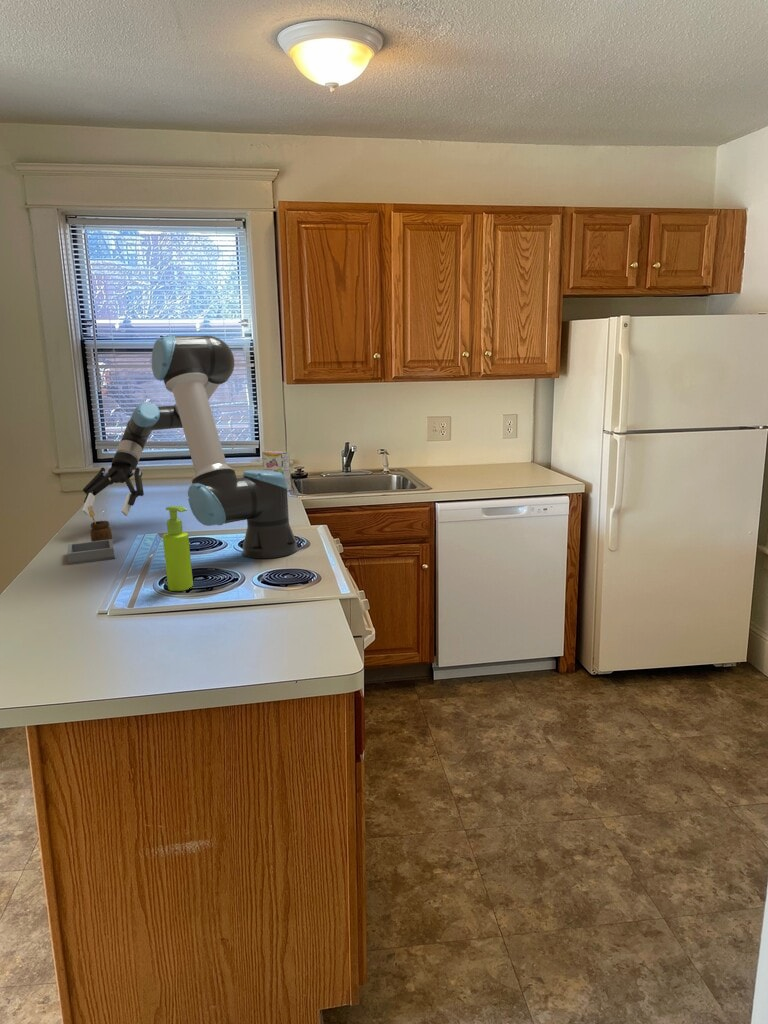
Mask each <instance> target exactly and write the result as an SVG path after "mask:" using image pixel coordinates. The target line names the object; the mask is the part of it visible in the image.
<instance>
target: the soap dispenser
mask: <svg viewBox="0 0 768 1024" xmlns="http://www.w3.org/2000/svg"><path fill="white" fill-rule="evenodd" d="M165 510H166V511H169V519H168V520H166V528H167V533H166V534H163V535H162V542H163V544H162V545H163V553H164V561H165V573H166V581H167V582H166V583H167V590H169V591H171V592H183V591H187V590H190V589H191V588H190V587H192V586H193V587H194V582H193V581H194V580H193V573H192V572H193V570H192V559H191V551H190V549H191V548H190V539H189V538H190V537H189V533H188V532H185V531H184V532H183V522H182V519H180V518H178V512H180V513H183V512H187V510H188V509H187V508H186V507H184V506H179V505H171V506H167V507H165ZM193 587H192V588H193ZM189 588H190V589H189Z"/></svg>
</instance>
